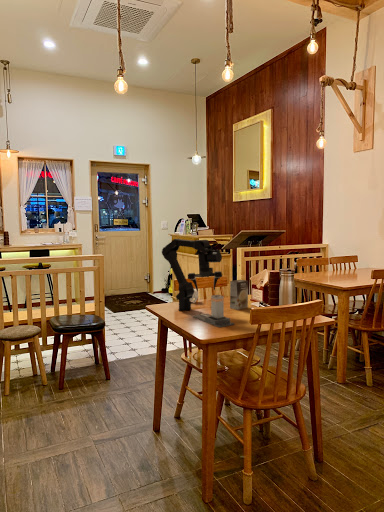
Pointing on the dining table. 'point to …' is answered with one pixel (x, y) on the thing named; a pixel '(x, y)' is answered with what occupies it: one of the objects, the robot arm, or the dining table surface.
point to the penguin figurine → (194, 296)
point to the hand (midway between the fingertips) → (205, 290)
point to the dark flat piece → (217, 323)
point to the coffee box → (238, 294)
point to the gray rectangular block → (217, 307)
